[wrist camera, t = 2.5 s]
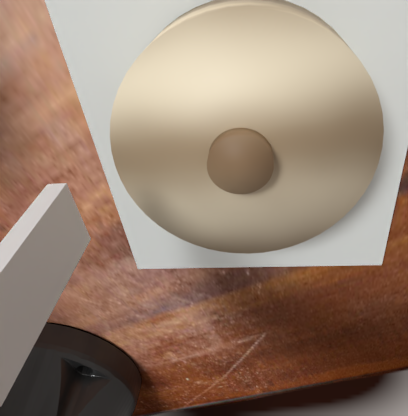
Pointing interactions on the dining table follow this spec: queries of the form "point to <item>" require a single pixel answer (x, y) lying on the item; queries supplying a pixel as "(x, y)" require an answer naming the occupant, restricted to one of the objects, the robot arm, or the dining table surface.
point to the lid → (246, 127)
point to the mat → (148, 30)
